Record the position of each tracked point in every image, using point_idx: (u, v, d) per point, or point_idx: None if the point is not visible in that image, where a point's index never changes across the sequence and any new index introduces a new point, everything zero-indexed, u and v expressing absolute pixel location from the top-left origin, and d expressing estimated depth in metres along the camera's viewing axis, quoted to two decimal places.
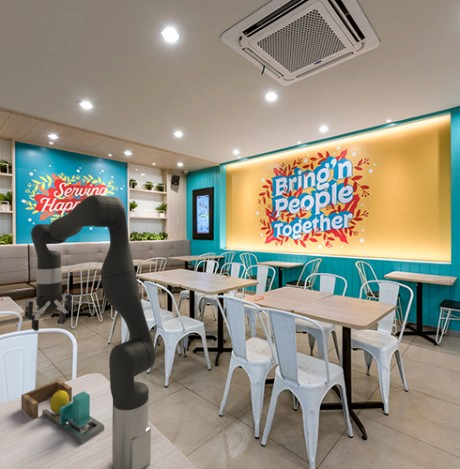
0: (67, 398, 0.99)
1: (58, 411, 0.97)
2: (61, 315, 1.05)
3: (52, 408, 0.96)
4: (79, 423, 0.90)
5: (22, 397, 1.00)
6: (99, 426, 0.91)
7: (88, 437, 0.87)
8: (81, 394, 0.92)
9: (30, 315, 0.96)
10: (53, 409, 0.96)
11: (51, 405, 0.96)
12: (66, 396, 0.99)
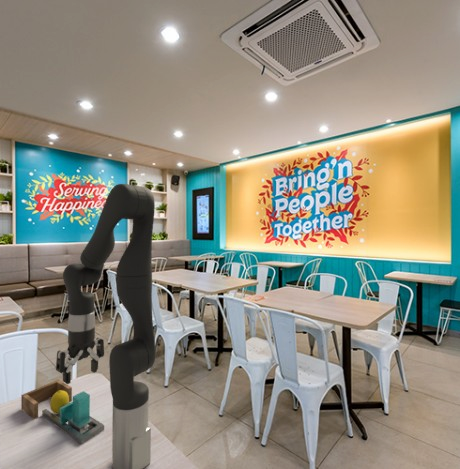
0: (67, 398, 0.99)
1: (58, 411, 0.97)
2: (93, 362, 0.94)
3: (52, 408, 0.96)
4: (79, 423, 0.90)
5: (22, 397, 1.00)
6: (99, 426, 0.91)
7: (88, 437, 0.87)
8: (81, 394, 0.92)
9: (62, 368, 0.85)
10: (53, 409, 0.96)
11: (51, 405, 0.96)
12: (66, 396, 0.99)
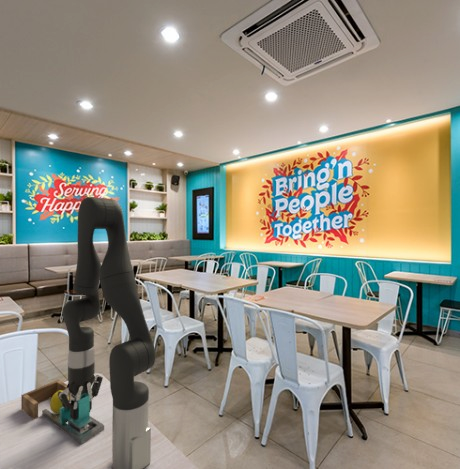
0: None
1: (58, 411, 0.97)
2: None
3: (52, 408, 0.96)
4: (79, 423, 0.90)
5: (22, 397, 1.00)
6: (99, 426, 0.91)
7: (88, 437, 0.87)
8: None
9: (69, 405, 0.87)
10: (53, 409, 0.96)
11: (51, 405, 0.96)
12: None
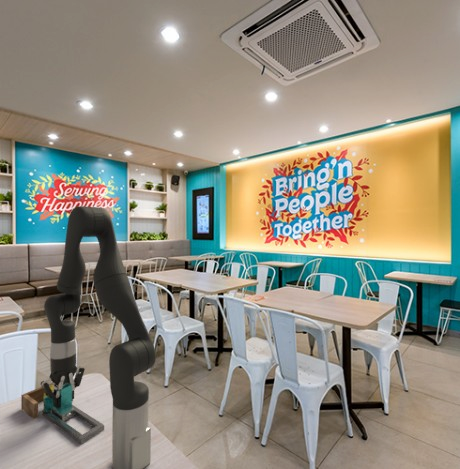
0: None
1: None
2: None
3: None
4: (61, 411, 0.95)
5: (22, 397, 1.00)
6: (99, 426, 0.91)
7: (88, 437, 0.87)
8: (64, 384, 0.98)
9: (52, 394, 0.93)
10: None
11: None
12: None
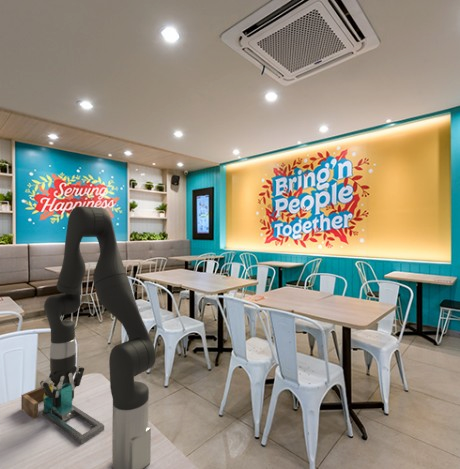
0: None
1: None
2: None
3: None
4: (61, 411, 0.95)
5: (22, 397, 1.00)
6: (99, 426, 0.91)
7: (88, 437, 0.87)
8: (64, 384, 0.98)
9: (51, 394, 0.93)
10: None
11: None
12: None
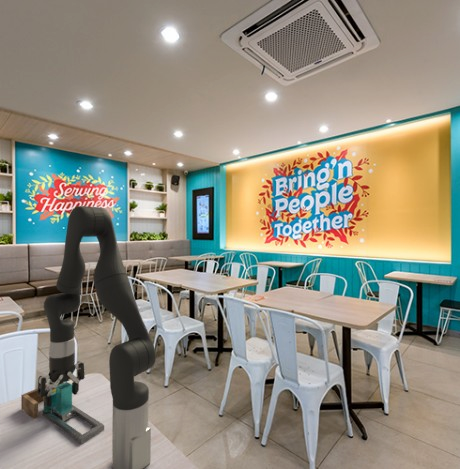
0: None
1: None
2: (74, 385, 1.01)
3: None
4: (61, 411, 0.95)
5: (22, 397, 1.00)
6: (99, 426, 0.91)
7: (88, 437, 0.87)
8: (64, 384, 0.98)
9: (43, 392, 0.92)
10: None
11: None
12: None
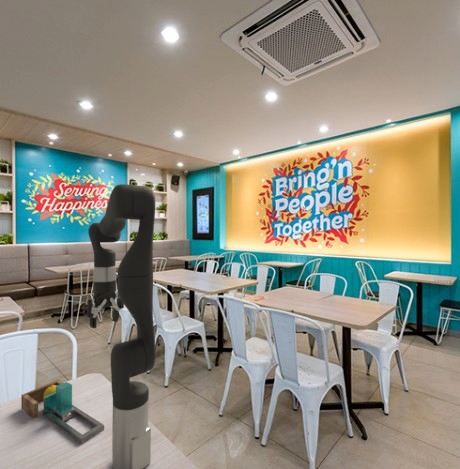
0: None
1: None
2: (115, 313, 1.06)
3: None
4: (61, 411, 0.95)
5: (22, 397, 1.00)
6: (99, 426, 0.91)
7: (88, 437, 0.87)
8: (64, 384, 0.98)
9: (89, 313, 0.97)
10: None
11: None
12: None
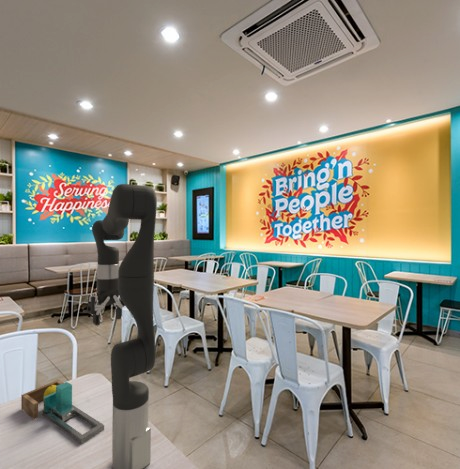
0: None
1: None
2: (118, 310, 1.06)
3: None
4: (61, 411, 0.95)
5: (22, 397, 1.00)
6: (99, 426, 0.91)
7: (88, 437, 0.87)
8: (64, 384, 0.98)
9: (93, 310, 0.97)
10: None
11: None
12: None
